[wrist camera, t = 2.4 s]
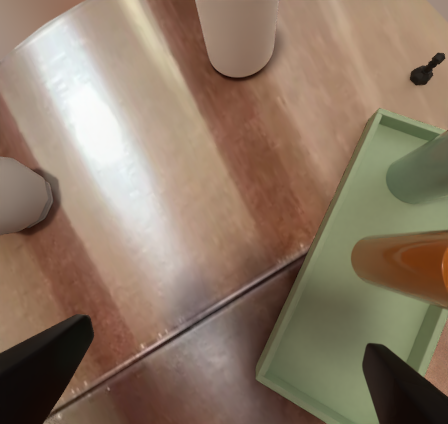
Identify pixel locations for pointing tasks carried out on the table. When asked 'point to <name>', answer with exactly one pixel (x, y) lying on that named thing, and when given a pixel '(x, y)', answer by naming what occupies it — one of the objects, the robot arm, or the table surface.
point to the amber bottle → (406, 264)
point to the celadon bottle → (421, 172)
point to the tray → (354, 287)
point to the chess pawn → (426, 70)
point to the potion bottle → (21, 196)
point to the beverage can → (238, 34)
